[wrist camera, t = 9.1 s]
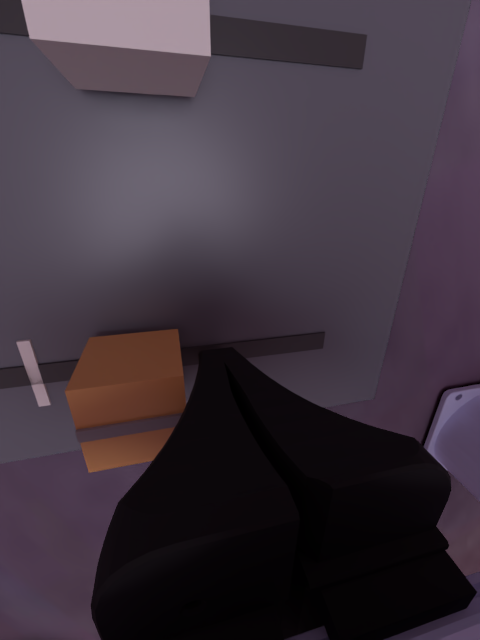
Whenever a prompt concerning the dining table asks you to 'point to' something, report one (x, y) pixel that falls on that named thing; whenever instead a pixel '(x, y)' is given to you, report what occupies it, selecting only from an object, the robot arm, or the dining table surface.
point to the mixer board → (219, 201)
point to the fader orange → (126, 397)
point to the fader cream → (124, 43)
